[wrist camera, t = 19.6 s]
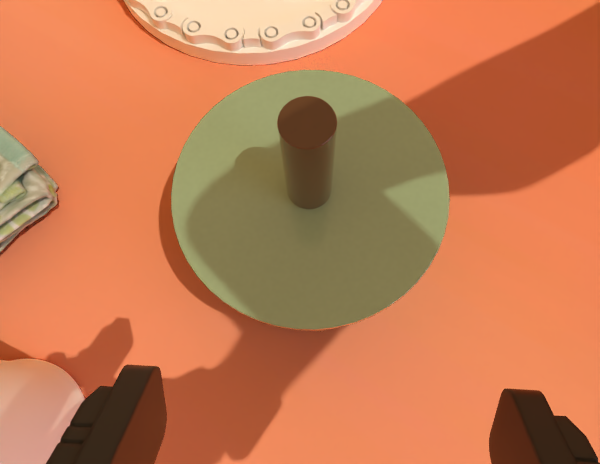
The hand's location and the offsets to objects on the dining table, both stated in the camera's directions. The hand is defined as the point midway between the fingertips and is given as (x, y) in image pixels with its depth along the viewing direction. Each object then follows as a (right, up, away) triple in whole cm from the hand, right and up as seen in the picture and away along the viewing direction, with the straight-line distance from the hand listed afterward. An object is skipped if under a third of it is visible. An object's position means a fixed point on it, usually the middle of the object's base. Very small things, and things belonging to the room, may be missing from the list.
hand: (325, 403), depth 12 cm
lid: (0, +6, +15) cm, 16 cm away
